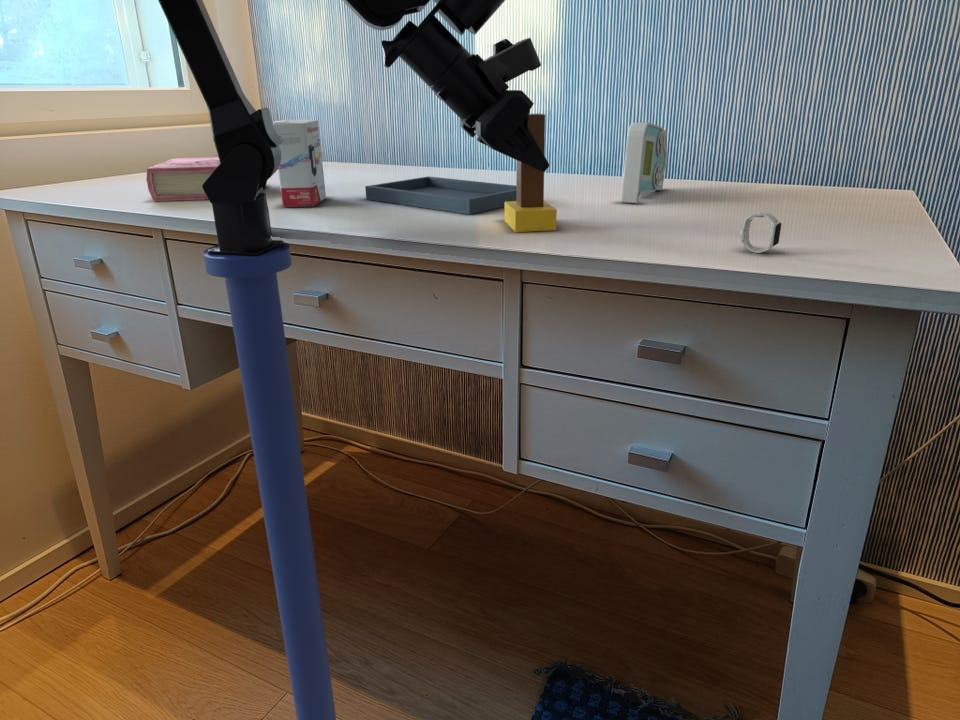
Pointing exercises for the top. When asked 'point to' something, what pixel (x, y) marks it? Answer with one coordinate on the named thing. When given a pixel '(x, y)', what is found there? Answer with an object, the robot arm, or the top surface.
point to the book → (180, 178)
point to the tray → (444, 194)
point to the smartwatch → (773, 234)
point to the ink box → (300, 163)
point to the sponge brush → (531, 191)
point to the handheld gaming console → (644, 160)
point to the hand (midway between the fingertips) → (541, 166)
